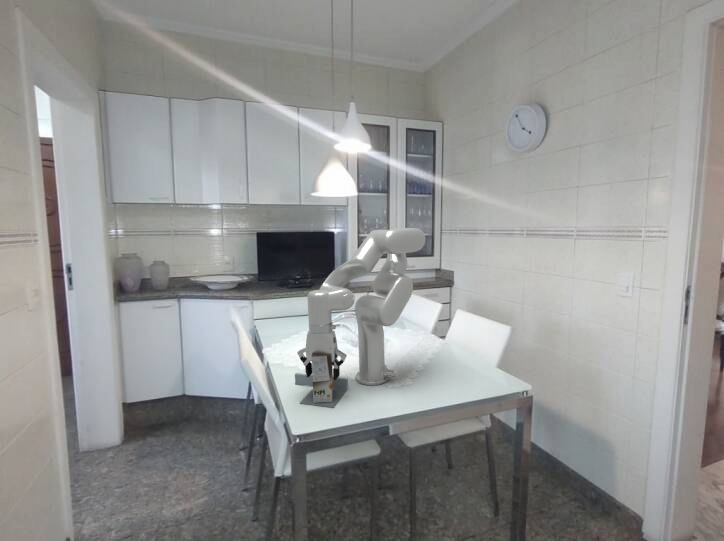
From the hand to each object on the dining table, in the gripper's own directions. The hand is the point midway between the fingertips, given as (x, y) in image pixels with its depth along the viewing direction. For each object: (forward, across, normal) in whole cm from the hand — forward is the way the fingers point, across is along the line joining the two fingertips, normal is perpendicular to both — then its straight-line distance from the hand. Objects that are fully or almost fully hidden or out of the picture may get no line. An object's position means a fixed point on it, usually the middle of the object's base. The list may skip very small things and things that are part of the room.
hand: (322, 376), depth 130 cm
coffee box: (+7, 0, 0) cm, 7 cm away
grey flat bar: (+7, +4, -8) cm, 11 cm away
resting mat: (+7, 0, 0) cm, 7 cm away
